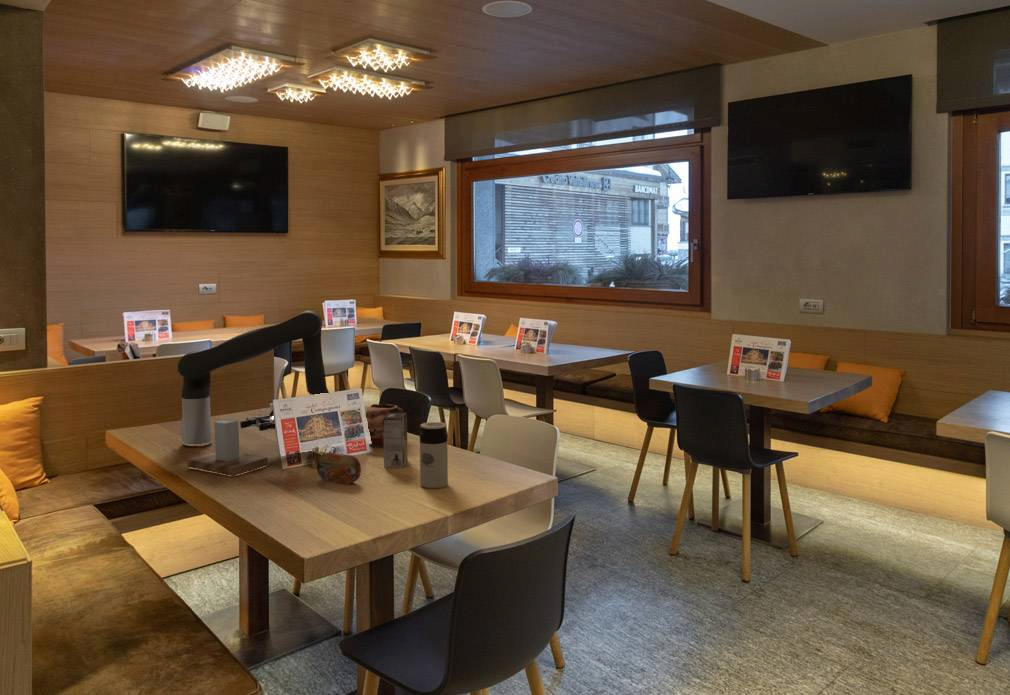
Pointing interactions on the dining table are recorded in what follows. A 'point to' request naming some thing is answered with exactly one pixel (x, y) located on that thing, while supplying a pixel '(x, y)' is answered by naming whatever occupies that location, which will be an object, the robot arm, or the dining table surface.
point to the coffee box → (395, 440)
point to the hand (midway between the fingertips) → (250, 426)
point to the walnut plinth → (228, 463)
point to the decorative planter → (379, 421)
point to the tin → (338, 468)
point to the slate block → (227, 440)
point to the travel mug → (433, 455)
